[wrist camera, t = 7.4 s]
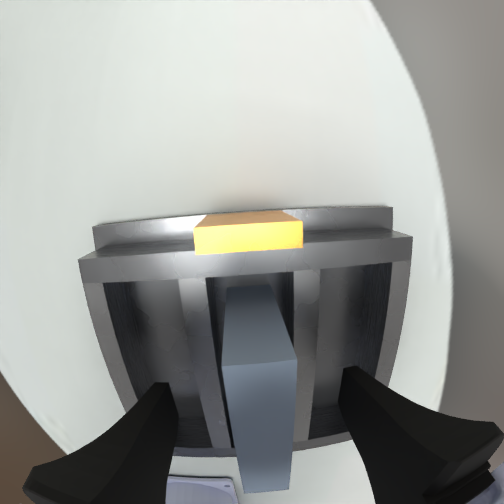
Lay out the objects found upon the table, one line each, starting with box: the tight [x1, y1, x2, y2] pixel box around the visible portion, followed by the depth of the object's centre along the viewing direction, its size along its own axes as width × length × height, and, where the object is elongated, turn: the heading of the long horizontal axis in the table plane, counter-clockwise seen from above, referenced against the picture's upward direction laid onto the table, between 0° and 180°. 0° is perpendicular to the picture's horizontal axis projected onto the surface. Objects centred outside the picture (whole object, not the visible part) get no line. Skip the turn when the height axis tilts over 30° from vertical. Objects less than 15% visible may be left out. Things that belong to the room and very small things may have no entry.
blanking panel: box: [222, 284, 297, 493], centre depth 11 cm, size 8×2×6 cm, turn 3°
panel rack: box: [78, 206, 413, 457], centre depth 12 cm, size 14×15×5 cm
